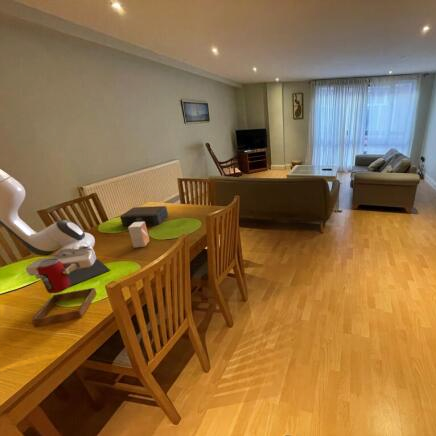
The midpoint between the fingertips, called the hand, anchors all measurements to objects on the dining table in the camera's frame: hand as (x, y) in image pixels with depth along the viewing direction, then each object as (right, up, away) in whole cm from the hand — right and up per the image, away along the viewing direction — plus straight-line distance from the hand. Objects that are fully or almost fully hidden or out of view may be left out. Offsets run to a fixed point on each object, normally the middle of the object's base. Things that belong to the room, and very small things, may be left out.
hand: (51, 274), depth 89 cm
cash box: (-19, +19, +89) cm, 93 cm away
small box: (-1, +5, +55) cm, 56 cm away
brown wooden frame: (+1, -15, +6) cm, 16 cm away
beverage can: (0, -6, +4) cm, 7 cm away
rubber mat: (-14, -6, +28) cm, 32 cm away
